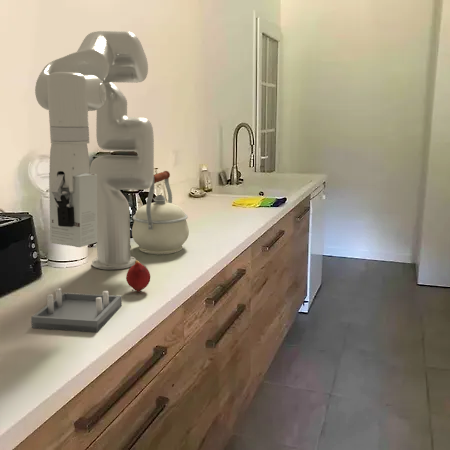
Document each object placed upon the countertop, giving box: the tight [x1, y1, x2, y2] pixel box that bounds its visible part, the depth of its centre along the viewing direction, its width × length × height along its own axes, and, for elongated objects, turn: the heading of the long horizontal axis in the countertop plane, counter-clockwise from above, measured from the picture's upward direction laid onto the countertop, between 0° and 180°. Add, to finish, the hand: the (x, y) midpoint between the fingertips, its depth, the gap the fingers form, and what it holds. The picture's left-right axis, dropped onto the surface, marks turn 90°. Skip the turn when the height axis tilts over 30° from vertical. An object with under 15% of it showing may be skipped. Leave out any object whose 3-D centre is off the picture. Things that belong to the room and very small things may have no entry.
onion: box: [125, 259, 151, 293], centre depth 127 cm, size 6×6×8 cm
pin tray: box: [30, 287, 123, 333], centre depth 112 cm, size 15×14×5 cm
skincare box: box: [48, 172, 97, 248], centre depth 107 cm, size 8×6×15 cm
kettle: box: [131, 170, 190, 255], centre depth 168 cm, size 25×18×25 cm
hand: (74, 221), depth 108 cm, fingers closed on skincare box, 7 cm apart
